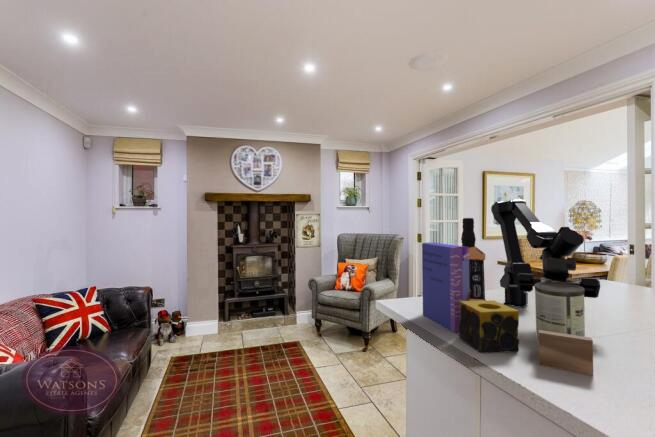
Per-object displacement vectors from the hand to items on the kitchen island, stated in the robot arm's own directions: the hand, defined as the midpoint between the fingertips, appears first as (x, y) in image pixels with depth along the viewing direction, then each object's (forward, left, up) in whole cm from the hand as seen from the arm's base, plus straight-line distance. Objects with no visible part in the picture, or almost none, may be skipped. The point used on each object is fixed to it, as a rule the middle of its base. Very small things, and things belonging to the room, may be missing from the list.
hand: (557, 311), depth 85 cm
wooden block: (+4, -18, -7) cm, 19 cm away
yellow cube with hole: (-12, -18, -7) cm, 23 cm away
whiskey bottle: (-28, +13, -7) cm, 32 cm away
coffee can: (+1, -4, -7) cm, 8 cm away
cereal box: (-27, -9, -7) cm, 30 cm away
